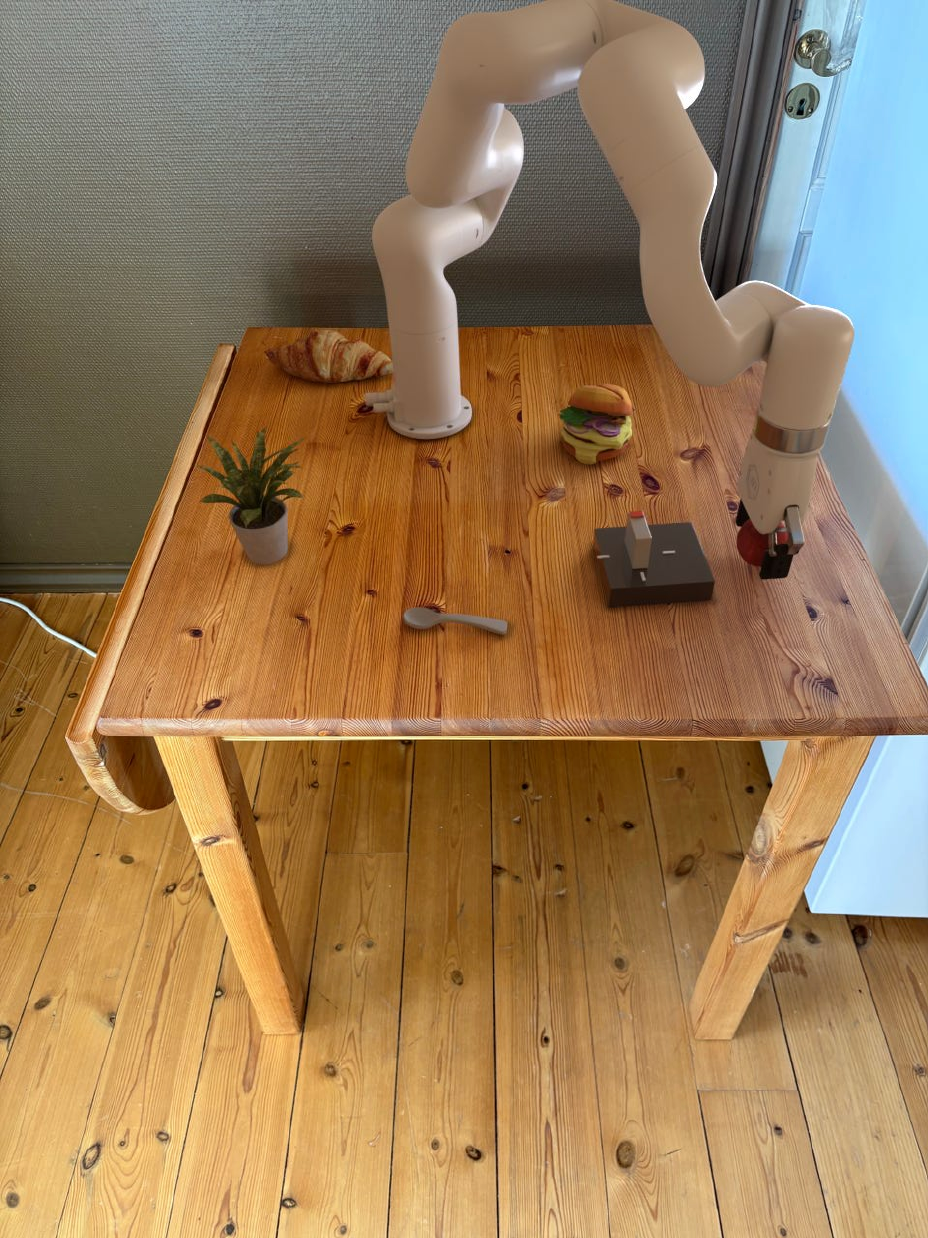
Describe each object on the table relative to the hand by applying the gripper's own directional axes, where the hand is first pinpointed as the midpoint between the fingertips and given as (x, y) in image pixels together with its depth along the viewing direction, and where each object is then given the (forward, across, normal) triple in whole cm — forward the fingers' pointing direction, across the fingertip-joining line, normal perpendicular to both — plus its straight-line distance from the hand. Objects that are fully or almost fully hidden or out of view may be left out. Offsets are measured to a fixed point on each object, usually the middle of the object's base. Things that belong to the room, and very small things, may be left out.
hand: (760, 550), depth 110 cm
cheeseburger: (+3, -28, -15) cm, 32 cm away
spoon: (+3, +7, -37) cm, 38 cm away
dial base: (+2, 0, -13) cm, 13 cm away
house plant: (+3, -8, -59) cm, 60 cm away
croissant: (+3, -53, -53) cm, 75 cm away
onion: (+3, 0, 0) cm, 3 cm away
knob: (-1, 0, -15) cm, 15 cm away
